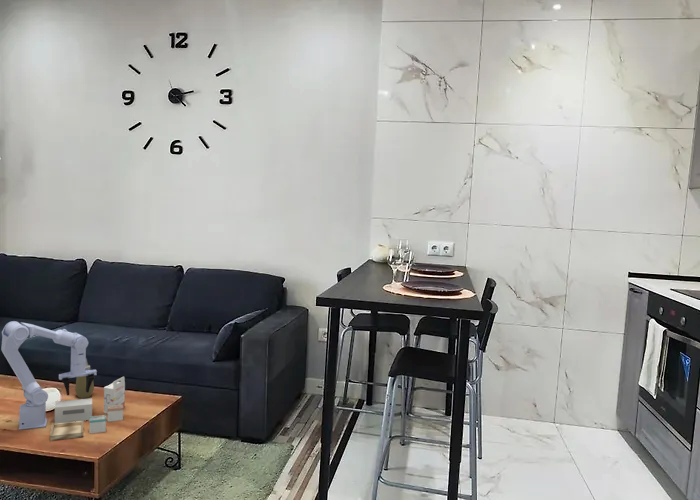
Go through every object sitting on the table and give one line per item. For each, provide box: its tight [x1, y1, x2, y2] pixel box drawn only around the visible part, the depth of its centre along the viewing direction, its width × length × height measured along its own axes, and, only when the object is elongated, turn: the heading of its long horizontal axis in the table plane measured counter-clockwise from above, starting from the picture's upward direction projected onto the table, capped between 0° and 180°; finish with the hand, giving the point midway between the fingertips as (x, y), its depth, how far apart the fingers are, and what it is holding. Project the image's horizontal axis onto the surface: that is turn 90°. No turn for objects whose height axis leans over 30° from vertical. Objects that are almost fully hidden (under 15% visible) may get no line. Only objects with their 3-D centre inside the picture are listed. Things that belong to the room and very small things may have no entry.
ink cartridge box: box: [103, 376, 126, 414], centre depth 248 cm, size 9×5×15 cm, turn 168°
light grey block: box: [106, 404, 124, 423], centre depth 239 cm, size 6×4×6 cm
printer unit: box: [54, 397, 93, 424], centre depth 237 cm, size 14×8×7 cm, turn 115°
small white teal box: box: [88, 414, 107, 434], centre depth 228 cm, size 6×4×6 cm
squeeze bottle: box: [74, 358, 95, 399], centre depth 262 cm, size 8×8×18 cm
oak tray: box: [49, 421, 85, 442], centre depth 224 cm, size 12×12×2 cm
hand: (77, 393), depth 241 cm, fingers open, 7 cm apart
